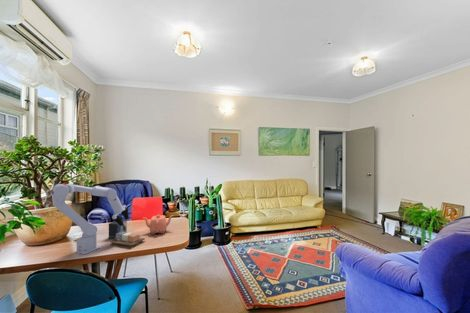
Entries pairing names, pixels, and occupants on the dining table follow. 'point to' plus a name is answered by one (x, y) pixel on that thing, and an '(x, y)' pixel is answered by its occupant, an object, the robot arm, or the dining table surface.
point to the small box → (116, 228)
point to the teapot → (158, 224)
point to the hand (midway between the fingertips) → (124, 222)
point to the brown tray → (126, 243)
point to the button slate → (120, 235)
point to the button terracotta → (133, 237)
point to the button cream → (126, 236)
